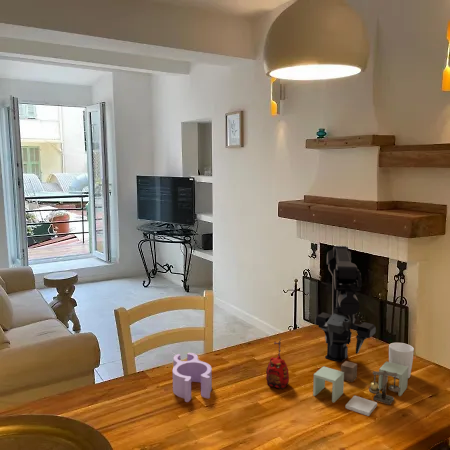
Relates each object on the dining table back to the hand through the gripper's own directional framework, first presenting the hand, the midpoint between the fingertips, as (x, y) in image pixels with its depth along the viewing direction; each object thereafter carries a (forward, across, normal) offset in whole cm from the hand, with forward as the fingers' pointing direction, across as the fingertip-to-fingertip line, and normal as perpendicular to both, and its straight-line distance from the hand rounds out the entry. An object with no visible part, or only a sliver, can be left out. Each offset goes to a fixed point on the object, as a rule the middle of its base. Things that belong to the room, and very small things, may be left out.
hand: (343, 349), depth 148 cm
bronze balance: (+11, +15, -3) cm, 19 cm away
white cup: (+12, +13, +17) cm, 25 cm away
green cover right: (+12, +15, +6) cm, 20 cm away
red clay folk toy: (+12, -16, -15) cm, 25 cm away
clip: (+12, -38, -33) cm, 52 cm away
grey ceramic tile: (+11, +11, -11) cm, 19 cm away
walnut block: (+12, +1, +4) cm, 12 cm away
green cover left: (+11, 0, -10) cm, 15 cm away
